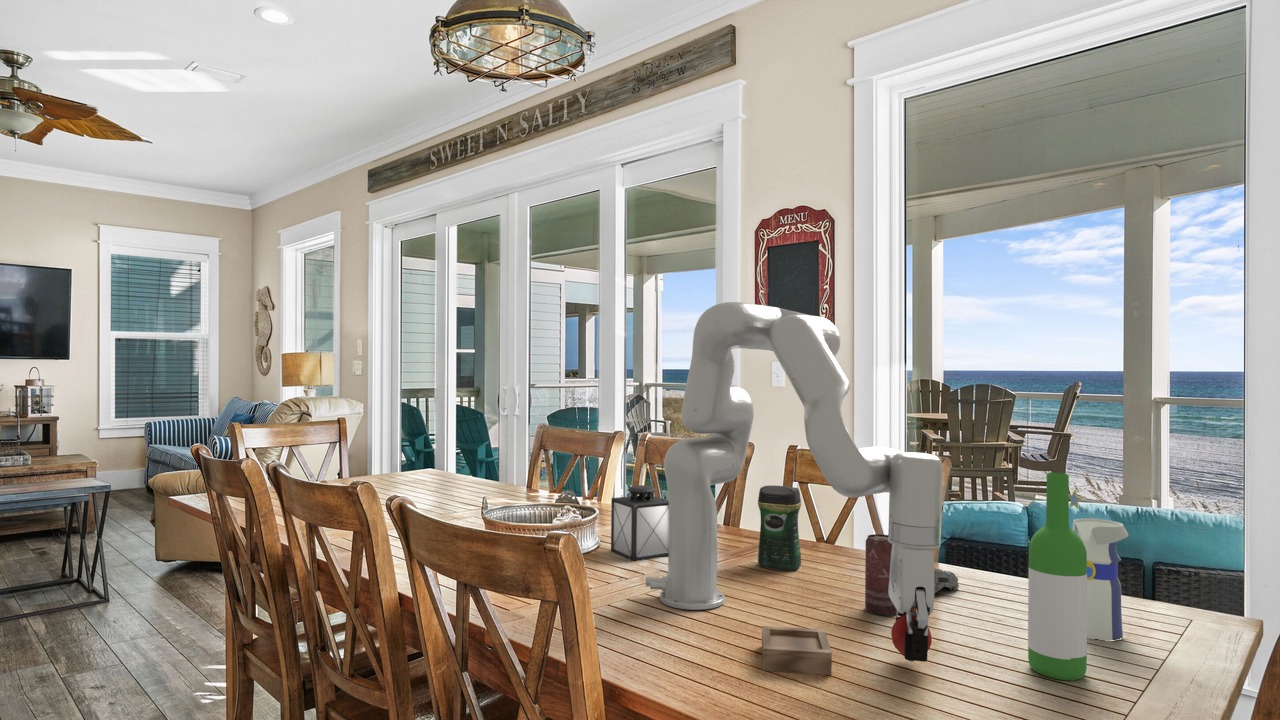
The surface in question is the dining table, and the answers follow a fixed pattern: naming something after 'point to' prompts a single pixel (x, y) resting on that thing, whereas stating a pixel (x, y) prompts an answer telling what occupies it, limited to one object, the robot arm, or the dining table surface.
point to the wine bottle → (1057, 591)
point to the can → (878, 575)
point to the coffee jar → (779, 528)
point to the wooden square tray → (796, 650)
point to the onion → (903, 633)
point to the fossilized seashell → (945, 580)
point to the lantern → (640, 523)
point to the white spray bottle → (1101, 574)
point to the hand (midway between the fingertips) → (910, 650)
